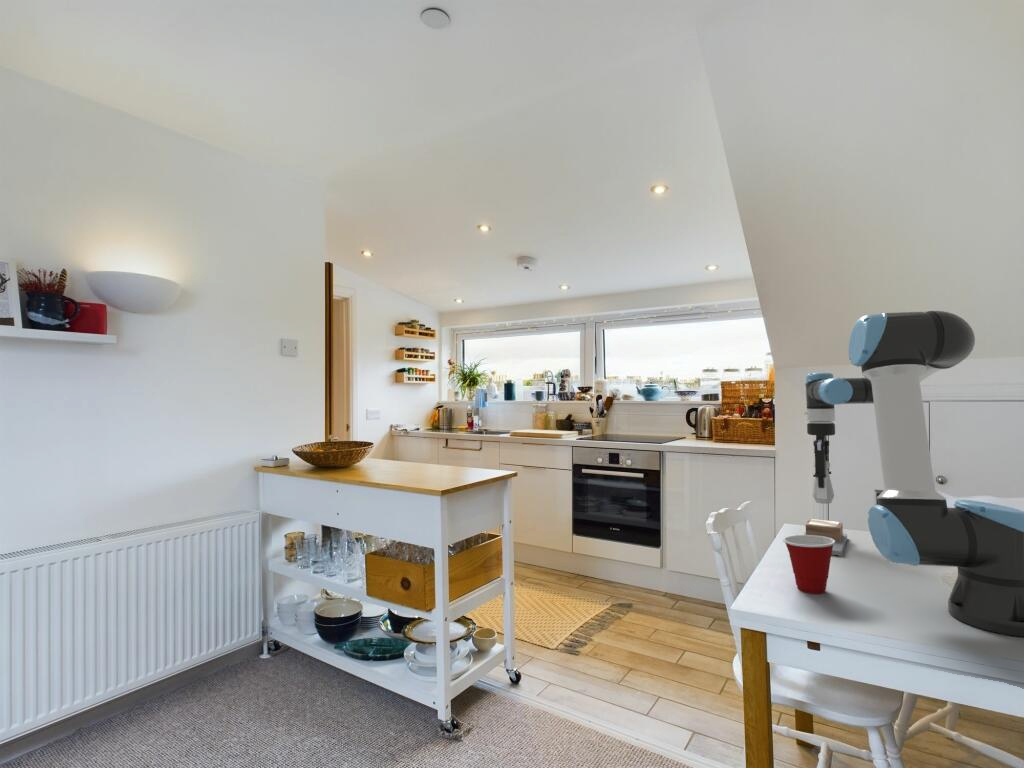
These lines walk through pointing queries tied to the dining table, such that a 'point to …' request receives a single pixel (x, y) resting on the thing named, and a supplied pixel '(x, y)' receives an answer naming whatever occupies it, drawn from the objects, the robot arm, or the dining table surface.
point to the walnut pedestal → (825, 529)
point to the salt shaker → (829, 488)
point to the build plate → (839, 546)
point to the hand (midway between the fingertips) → (823, 496)
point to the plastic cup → (810, 561)
